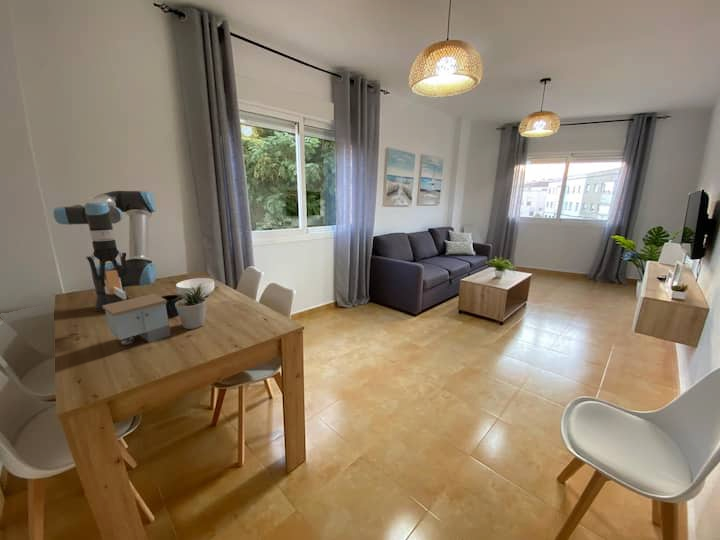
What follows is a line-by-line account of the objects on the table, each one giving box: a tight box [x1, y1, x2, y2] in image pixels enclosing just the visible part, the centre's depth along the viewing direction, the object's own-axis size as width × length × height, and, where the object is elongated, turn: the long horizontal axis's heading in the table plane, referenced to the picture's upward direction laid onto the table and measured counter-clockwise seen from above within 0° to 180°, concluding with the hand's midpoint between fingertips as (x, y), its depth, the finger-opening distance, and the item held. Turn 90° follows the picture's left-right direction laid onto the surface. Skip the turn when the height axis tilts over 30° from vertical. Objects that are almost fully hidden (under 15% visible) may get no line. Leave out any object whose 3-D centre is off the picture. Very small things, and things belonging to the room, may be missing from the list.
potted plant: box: [175, 285, 208, 330], centre depth 134 cm, size 13×14×20 cm
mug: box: [161, 294, 180, 319], centre depth 146 cm, size 9×12×9 cm
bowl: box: [175, 277, 215, 299], centre depth 174 cm, size 20×20×8 cm
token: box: [120, 337, 136, 346], centre depth 120 cm, size 4×4×1 cm
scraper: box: [104, 269, 127, 299], centre depth 127 cm, size 16×4×10 cm, turn 53°
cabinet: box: [102, 293, 171, 344], centre depth 121 cm, size 14×18×16 cm
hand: (114, 292), depth 131 cm, fingers closed on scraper, 4 cm apart
